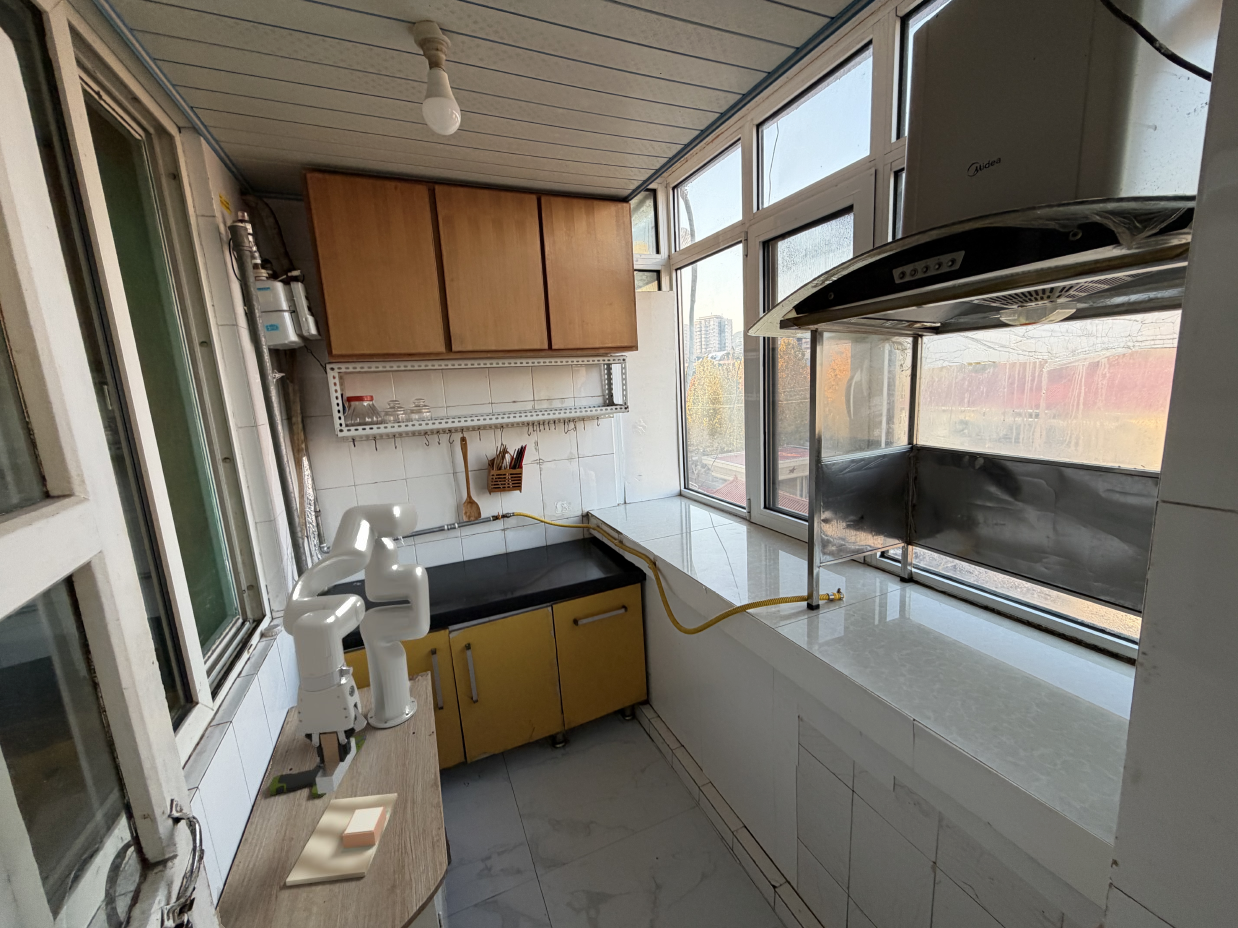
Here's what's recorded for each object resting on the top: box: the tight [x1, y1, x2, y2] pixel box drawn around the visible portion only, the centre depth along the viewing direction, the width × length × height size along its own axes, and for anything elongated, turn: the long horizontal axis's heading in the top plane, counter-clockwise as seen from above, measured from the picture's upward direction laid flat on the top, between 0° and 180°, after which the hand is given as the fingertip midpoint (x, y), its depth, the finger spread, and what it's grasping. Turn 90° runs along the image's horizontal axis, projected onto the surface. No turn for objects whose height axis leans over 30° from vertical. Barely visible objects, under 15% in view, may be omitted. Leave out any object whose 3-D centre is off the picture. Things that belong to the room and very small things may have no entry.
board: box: [285, 792, 399, 887], centre depth 100 cm, size 18×14×1 cm
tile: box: [342, 806, 387, 849], centre depth 100 cm, size 6×6×3 cm
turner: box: [316, 731, 357, 794], centre depth 98 cm, size 10×3×10 cm, turn 6°
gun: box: [269, 734, 367, 799], centre depth 119 cm, size 2×19×15 cm
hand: (335, 756), depth 98 cm, fingers closed on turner, 3 cm apart
